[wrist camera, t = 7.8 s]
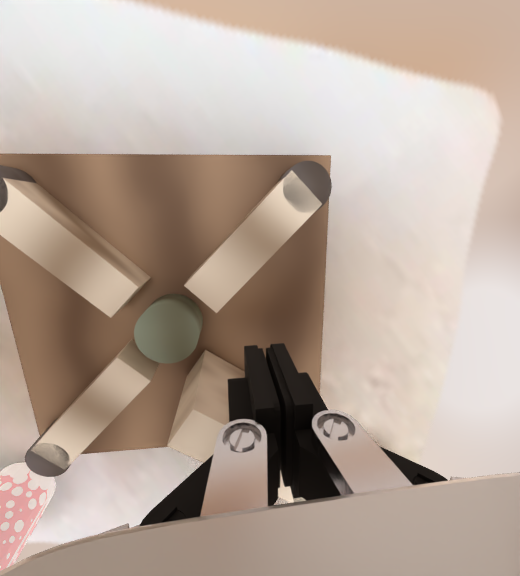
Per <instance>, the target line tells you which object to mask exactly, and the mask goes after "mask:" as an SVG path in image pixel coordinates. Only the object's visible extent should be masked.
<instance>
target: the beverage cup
mask: <svg viewBox="0 0 520 576" xmlns="http://www.w3.org/2000/svg"><path fill="white" fill-rule="evenodd" d="M55 488H56V483H55V480H54V477H44V476H40V475H38V474H36V473H34V472H32V471H31V470H30V469H29V468H28V466H27V465H26V462H23V463H14V464H11V465H9V466H7V467H5V468H4V469H3V470H2V471H1V472H0V571H1V570H3V569H5V568H7V567H9V566H11V565H13V564H15V562H16V560H17V558H18V557H19V555H20V553H21V551H22V549H23V547H24V546H25V544H26V542H27V541H28V539H29V537H30V535H31V534H32V532H33V530H34V528H35V526H36V525H37V523H38V521H39V519H40V518H41V516H42V514H43V512H44V511H45V509H46V507H47V505H48V503H49V502H50V500H51V498H52V496H53V495H54V492H55Z"/></svg>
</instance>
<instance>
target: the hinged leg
mask: <svg viewBox="0 0 520 576" xmlns="http://www.w3.org/2000/svg"><path fill="white" fill-rule="evenodd" d="M233 378H245V372H244V371H243V370H241V369H239V368H237V367H235V366H234V365H232V364H230V363H228V362H226V361H225V360H223V359H221V358H219V357H218V356H216V355H214V354H212V353H210V352H209V351H207V350H205V351H204V352H203V354H202V355H201V357H200V358H199V360H198V361H197V362H196V364H195V365H194V367H193V368H192V370H191V371H190V372H189V374H188V375H187V377H186V381H185V384H184V388H183V391H182V395H181V398H180V402H179V405H178V409H177V412H176V416H175V419H174V423H173V426H172V430H171V433H170V437H169V441H168V444H167V446H168V447H170V448H172V449H175V450H177V451H179V452H181V453H183V454H186V455H188V456H190V457H192V458H194V459H196V460H199V461H201V462H203V463H204V462H205V461H206V460H208V459H209V458H210V457H211V456H212V455H213V454H214V449H215V445H216V440H217V436H218V434H219V431H220V430H221V429H222V428H223V426H224V425H226V424H228V423H229V403H228V379H233ZM278 497H280V498H282V499H284V500H286V501H288V502H291V503H294V502H301V501H306V500H305V499H303V498H302V497H301V498H294V499H293V496H292V492H291V488H290V486H289V487H285V486H284V483H283V479H282V474H281V470H280V488H278Z"/></svg>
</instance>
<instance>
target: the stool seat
mask: <svg viewBox="0 0 520 576" xmlns="http://www.w3.org/2000/svg"><path fill="white" fill-rule="evenodd" d="M330 165H331V156H330V155H144V154H0V284H1V287H2V291H3V295H4V299H5V303H6V307H7V311H8V314H9V318H10V322H11V326H12V330H13V334H14V338H15V342H16V345H17V349H18V353H19V357H20V361H21V365H22V369H23V372H24V376H25V380H26V384H27V388H28V392H29V396H30V399H31V403H32V407H33V411H34V415H35V419H36V423H37V427H38V430H39V434H40V437H39V438H38V439H37V441H36V442H35V443H34V444H33V445H32V446H31V448H30V449H29V450H28V451H27V453H26V455H25V462H26V465H27V466H28V468H29V469H30V470H31V471H32V472H34V473H36V474H38V475H40V476H44V477H54V476H58V475H61V474H63V473H64V472H65V471H66V470H67V469H68V468H69V466H70V465H71V463H72V462H73V461H74V460H75V459H76V458H77V457H78V456H79V455H80V454H87V453H99V452H111V451H123V450H135V449H146V448H158V447H168V446H167V444H168V441H169V437H170V433H171V430H172V426H173V423H174V419H175V416H176V412H177V409H178V405H179V402H180V398H181V395H182V391H183V388H184V384H185V381H186V377H187V375H188V374H189V372H190V371H191V370H192V368H193V367H194V365H195V364H196V362H197V361H198V360H199V358H200V357H201V355H202V354H203V352H204V351H205V350H207V351H209V352H210V353H212V354H214V355H216V356H218V357H219V358H221V359H223V360H225V361H226V362H228V363H230V364H232V365H234V366H235V367H237V368H239V369H241V370H243V371H244V372H245V367H244V346H251V345H257V346H258V348H263V352H264V355H265V358H266V348H270V345H271V344H279V343H284V344H285V346H286V348H287V350H288V353H289V355H290V357H291V359H292V361H293V363H294V365H295V367H296V369H297V371H298V373H303V372H307V373H308V374H309V376H310V378H311V380H312V382H313V383H314V385H315V387H316V389H317V391H318V393H320V372H321V351H322V330H323V310H324V289H325V268H326V248H327V227H328V206H329V196H330V193H331V179H330Z"/></svg>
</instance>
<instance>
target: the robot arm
mask: <svg viewBox="0 0 520 576" xmlns="http://www.w3.org/2000/svg"><path fill="white" fill-rule="evenodd" d="M244 367H245V378H233V379H228V403H229V423H228V424H226V425H224V426H223V428H222V429H221V430H220V431H219V434H218V436H217V440H216V445H215V449H214V454H213V455H212V456H211V457H210V458H209V459H208V460H206V461H205V462H204V463H203V464H202V465H201V466H200V467H199V468H198V469H196V470H195V471H194V472H193V473H192V474H191V475H190V476H189V477H188V478H187V479H185V480H184V481H183V482H182V483H181V484H180V485H179V486H178V487H177V488H176V489H174V490H173V491H172V492H171V493H170V494H169V495H168V496H167V497H166V498H164V499H163V500H162V501H161V502H160V503H159V504H158V505H157V506H156V507H155V508H153V509H152V510H151V511H150V512H149V513H148V515H147V516H146V517H145V518H144V519H143V521H142V522H141V524H140V525H137V526H135V527H132V528H129V524H125V525H122V526H120V527H117V528H114V529H111V530H109V531H106V532H103V533H101V534H98V535H94V536H89V537H86V538H82V539H78V540H75V541H71V542H68V543H64V544H61V545H58V546H56V547H53V548H50V549H48V550H45V551H43V552H40V553H37V554H35V555H32V556H30V557H27V558H26V559H23V560H21V561H20V562H17V563H16V564H13V565H11V566H9V567H7V568H5V569H3V570H1V571H0V576H520V472H518V473H507V474H495V475H488V476H480V477H474V478H473V477H472V478H458V477H451V479H450V480H449V481H448V480H447V479H446V478H444V477H443V476H441V475H440V474H438V473H436V472H434V471H432V470H430V469H428V468H426V467H423V466H421V465H419V464H417V463H415V462H412V461H410V460H408V459H406V458H404V457H402V456H399V455H397V454H395V453H393V452H391V451H388V450H386V449H384V448H382V447H380V446H378V445H377V444H376V442H375V441H374V440H373V439H372V438H371V437H370V436H369V434H368V433H367V432H366V431H365V430H364V429H363V428H362V426H361V425H360V424H359V423H358V422H357V421H356V420H355V419H354V418H353V417H352V416H350V415H348V414H346V413H344V412H341V411H337V410H328V409H327V407H326V405H325V404H324V402H323V400H322V398H321V396H320V394H319V393H318V391H317V389H316V387H315V385H314V383H313V382H312V380H311V378H310V376H309V374H308V373H307V372H303V373H298V371H297V369H296V367H295V365H294V363H293V361H292V359H291V357H290V355H289V353H288V350H287V348H286V346H285V344H284V343H279V344H271V345H270V348H266V358H265V355H264V352H263V348H258V346H257V345H251V346H244ZM280 470H281V474H282V479H283V483H284V486H285V487H289V486H290V488H291V492H292V496H293V499H294V498H301V497H302V498H303V499H305V500H306V501H301V502H294V503H287V504H280V505H274V503H275V502H276V500H277V499H278V488H280ZM273 505H274V506H273Z"/></svg>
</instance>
